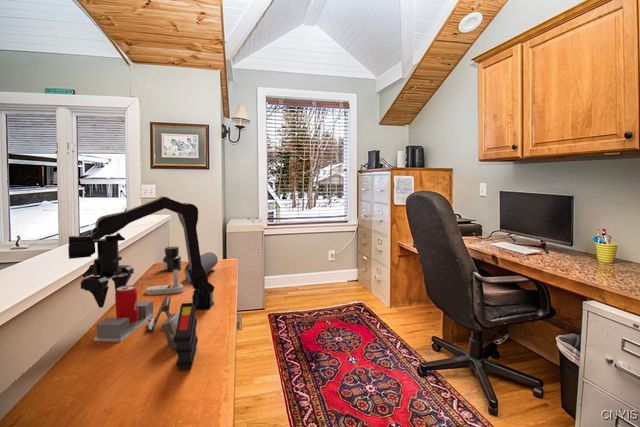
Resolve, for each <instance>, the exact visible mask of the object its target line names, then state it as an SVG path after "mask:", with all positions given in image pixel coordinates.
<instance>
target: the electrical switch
mask: <svg viewBox="0 0 640 427" xmlns="http://www.w3.org/2000/svg"><path fill="white" fill-rule="evenodd" d="M179 313H180V310H178V312H176V313H173V314H172V313H171V316H170V317H169V318H168V317H167V319H166V320H165V321H163V323H162V324H161V328H162V331H163V333H164V336H165V337H164V338H165V340H166V342H167V345H168V348H169V350H170V351H171V350H174V349H175V350H176V348H177V342H176V343H174V338H175V333H176V328H177V323H178V318H179Z"/></svg>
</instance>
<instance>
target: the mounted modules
mask: <svg viewBox="0 0 640 427" xmlns="http://www.w3.org/2000/svg"><path fill="white" fill-rule="evenodd" d="M137 301H138V317H147V316H149V315H150V314H151V313H153V311H154V300H137ZM95 324H96V326H95V328H96V329H95V330H96V336H97V337H115V338H120V337H122V336H123V335H124V334H126V333H127V332H128V331H129V330H130V325H129V318H116V317H105V318H104V319H102V320H101V321H99V322H98V323H95Z"/></svg>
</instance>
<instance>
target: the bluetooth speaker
mask: <svg viewBox="0 0 640 427" xmlns="http://www.w3.org/2000/svg"><path fill="white" fill-rule="evenodd" d="M200 257H201V264H202V266H203V268H204V270H205V272H206V275H207V273H208V274H209V272H210V271H211V270H212V269H213V268H214V267H216V265H217V264H218V261H219V258H218V256H217V255H216V253H214V252H212V251H211V252H210V251H209V252H205V253H203V254H200ZM188 267H189V262H188V263H187V264H186V265H185V268H184V270H188Z"/></svg>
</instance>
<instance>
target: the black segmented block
mask: <svg viewBox="0 0 640 427" xmlns="http://www.w3.org/2000/svg"><path fill="white" fill-rule="evenodd" d="M195 308H196V305H194V303H192V302H183V303H181V305H180V309H179V311H180V313H179V318H178V323H177V328H176V333H175V338H174V343H176V342H177V348H176V349H175V354H176V355H177V361H176V364H175V365H176V367H178V369H177V370H178V371H179V372H180V371H181V372H182V371H189V370H191V369H192V367H193V364H194V359H195V356H196V352H197V344H198V341H199V338H198V336H197V325H198V324H197V323H198V319H197V318H196V316H195V314H196V309H195Z"/></svg>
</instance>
